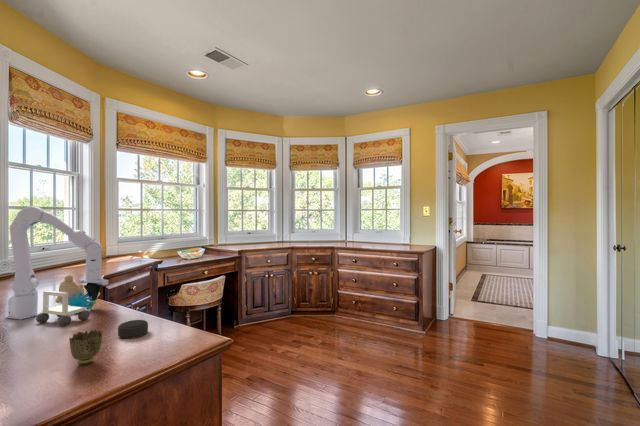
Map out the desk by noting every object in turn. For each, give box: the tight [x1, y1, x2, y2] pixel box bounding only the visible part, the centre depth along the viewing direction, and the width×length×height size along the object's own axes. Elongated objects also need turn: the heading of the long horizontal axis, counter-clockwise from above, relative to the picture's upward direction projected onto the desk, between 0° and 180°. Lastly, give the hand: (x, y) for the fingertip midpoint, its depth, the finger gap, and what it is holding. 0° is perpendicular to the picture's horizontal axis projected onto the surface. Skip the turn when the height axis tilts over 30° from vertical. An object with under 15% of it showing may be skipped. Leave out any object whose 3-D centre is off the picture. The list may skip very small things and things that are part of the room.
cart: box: [35, 290, 91, 327], centre depth 124 cm, size 13×11×12 cm
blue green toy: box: [68, 292, 97, 315], centre depth 137 cm, size 11×6×10 cm
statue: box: [55, 274, 87, 303], centre depth 155 cm, size 12×14×10 cm
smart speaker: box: [117, 319, 149, 340], centre depth 110 cm, size 9×9×4 cm
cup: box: [68, 329, 104, 366], centre depth 89 cm, size 8×7×8 cm
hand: (93, 300), depth 142 cm, fingers closed
